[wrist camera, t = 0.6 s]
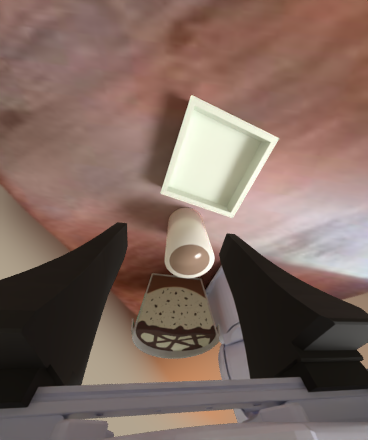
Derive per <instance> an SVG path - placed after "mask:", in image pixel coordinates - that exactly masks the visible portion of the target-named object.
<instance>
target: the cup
mask: <svg viewBox="0 0 368 440" xmlns="http://www.w3.org/2000/svg"><path fill="white" fill-rule="evenodd" d="M213 263H214V253H213V250H212V247H211V244H210V241H209V238H208V235H207V232H206V229H205V226H204V223H203V220H202V217H201V215H200V214H199V212H197V211H196V210H194V209H192V208H180V209H177V210H176V211H174V212H173V213H172V214H171V216H170V217H169V221H168V230H167V240H166V250H165V265H166V267H167V269H168V270H169V271H170V272H171V273H172V274H174V275H176V276H178V277H182V278H195V277H198V276H201V275H203V274H205V273H206V272H207V271H209V270H210V268H211V267H212V265H213Z"/></svg>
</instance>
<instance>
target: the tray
mask: <svg viewBox="0 0 368 440" xmlns="http://www.w3.org/2000/svg"><path fill="white" fill-rule="evenodd" d="M278 140H279V138H277V137H275V136H273V135H271V134H269V133H267V132H265V131H263V130H261V129H259V128H257V127H255V126H253V125H251V124H249V123H247V122H245V121H243V120H241V119H239V118H237V117H235V116H233V115H231V114H229V113H227V112H225V111H223V110H221V109H219V108H217V107H215V106H213V105H211V104H209V103H207V102H205V101H203V100H201V99H199V98H197V97H195V96H193V95H191V97H190V100H189V103H188V107H187V110H186V113H185V116H184V119H183V123H182V126H181V129H180V132H179V135H178V139H177V142H176V145H175V148H174V151H173V154H172V158H171V161H170V164H169V167H168V170H167V174H166V177H165V180H164V183H163V186H162V190H161V193H160V194H163V195H166V196H169V197H172V198H175V199H178V200H181V201H184V202H187V203H190V204H193V205H195V206H198V207H201V208H204V209H207V210H210V211H213V212H216V213H219V214H222V215H225V216H228V217H231V218H233V217H234V215H235V213H236V212H237V210H238V208H239V206H240V205H241V203H242V201H243V200H244V198H245V196H246V194H247V193H248V191H249V189H250V188H251V186H252V184H253V182H254V181H255V179H256V177H257V176H258V174H259V172H260V170H261V169H262V167H263V165H264V164H265V162H266V160H267V158H268V157H269V155H270V153H271V152H272V150H273V148H274V146H275V145H276V143H277V141H278Z"/></svg>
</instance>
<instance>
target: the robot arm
mask: <svg viewBox="0 0 368 440" xmlns="http://www.w3.org/2000/svg"><path fill="white" fill-rule="evenodd" d="M127 247H128V245H127V223H119V222H117V223H116V224H114V225H113V226H111V227H110V228H109V229H107V230H106V231H104V232H103V233H101V234H100V235H98V236H97V237H95V238H94V239H92V240H90V241H89V242H87V243H85V244H84V245H82V246H80V247H78V248H77V249H75V250H73V251H71V252H69V253H67V254H65V255H63V256H61V257H59V258H56V259H54V260H52V261H49V262H47V263H45V264H42V265H40V266H38V267H35V268H33V269H30V270H27V271H25V272H22V273H19V274H16V275H14V276H11V277H8V278H5V279H2V280H0V440H368V369H366V368H365V367H364V366H363V365H362V363H361V362H360V361H362V360H363V357H362V355H360V353H359V352H358V351H357V349H358V348H360V347H362V346H363V345H365V344H366V343H368V314H367V313H366V312H365V311H364V310H362V309H361V308H359V307H357V306H354V305H352V304H350V303H347V302H345V301H343V300H340V299H338V298H336V297H333V296H331V295H329V294H327V293H325V292H323V291H321V290H319V289H317V288H315V287H313V286H311V285H309V284H307V283H305V282H303V281H301V280H299V279H298V278H296V277H294V276H292V275H291V274H289V273H287V272H286V271H284V270H282V269H281V268H279V267H278V266H276V265H275V264H273V263H272V262H270V261H269V260H268V259H266V258H265V257H263V256H262V255H261V254H259V253H258V252H257V251H256V250H254V249H253V248H252V247H251V246H249V245H248V244H247V243H246V242H244V241H243V240H242V239H240V238H239V237H238V236H236V235H235V234H226V237H225V240H224V242H223V245H222V248H221V250H220V253H219V256H220V261H221V267H220V268H219V270H218V271H217V273H216V274H215V276H214V277H213V279H212V281H211V282H210V284H209V285H208V287H207V288H206V290H205V292H206V296H207V299H208V302H209V306H210V309H211V312H212V316H213V319H214V322H215V326H216V327H217V325H218V324H219V327H220V336H219V341H220V342H221V343H222V345H221V347H220V350H219V355H218V360H219V368H220V373H221V377H222V380H210V381H182V382H158V383H157V382H156V383H129V384H103V385H81V384H82V380H83V377H84V373H85V369H86V366H87V362H88V359H89V355H90V351H91V348H92V345H93V341H94V338H95V334H96V331H97V328H98V325H99V322H100V319H101V315H102V312H103V309H104V306H105V303H106V300H107V297H108V294H109V292H110V289H111V287H112V285H113V283H114V280H115V278H116V276H117V274H118V271H119V269H120V267H121V265H122V262H123V260H124V257H125V254H126V250H127ZM226 409H233V410H234V413H235V416H236V419H237V422H238V423H231V424H218V425H205V426H195V427H186V428H177V429H169V430H161V431H154V432H146V433H139V434H132V435H126V436H118V437H114V434H113V432H111V431H109V430H107V427H108V423H107V421H98V420H83V419H90V418H105V417H121V416H136V415H150V414H165V413H181V412H195V411H210V410H226Z"/></svg>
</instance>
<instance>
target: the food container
mask: <svg viewBox="0 0 368 440" xmlns="http://www.w3.org/2000/svg"><path fill="white" fill-rule="evenodd" d="M131 331H132V340H133V342H134V344H135V345H136V347H137V348H139V349H140V350H141V351H143V352H145V353H147V354H149V355H152V356H156V357H161V358H186V357H191V356H196V355H199V354H202V353H204V352H206V351H208V350H210V349H212V348H213V347H214V346H215V345H216V344H217V343H218V342H219V336H220V327H219V324H218V325H217V327H216V326H215V322H214V319H213V316H212V312H211V309H210V306H209V302H208V299H207V296H206V292H205V289H204V286H203V282H202V279H200V278H182V277H178V276H173V275H164V274H156V273H152V274H151V277H150V280H149V284H148V287H147V290H146V293H145V296H144V299H143V302H142V305H141V308H140V311H139V314H138V317H137V320H136V324H135V325H134V322H133V318H132V328H131Z"/></svg>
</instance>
